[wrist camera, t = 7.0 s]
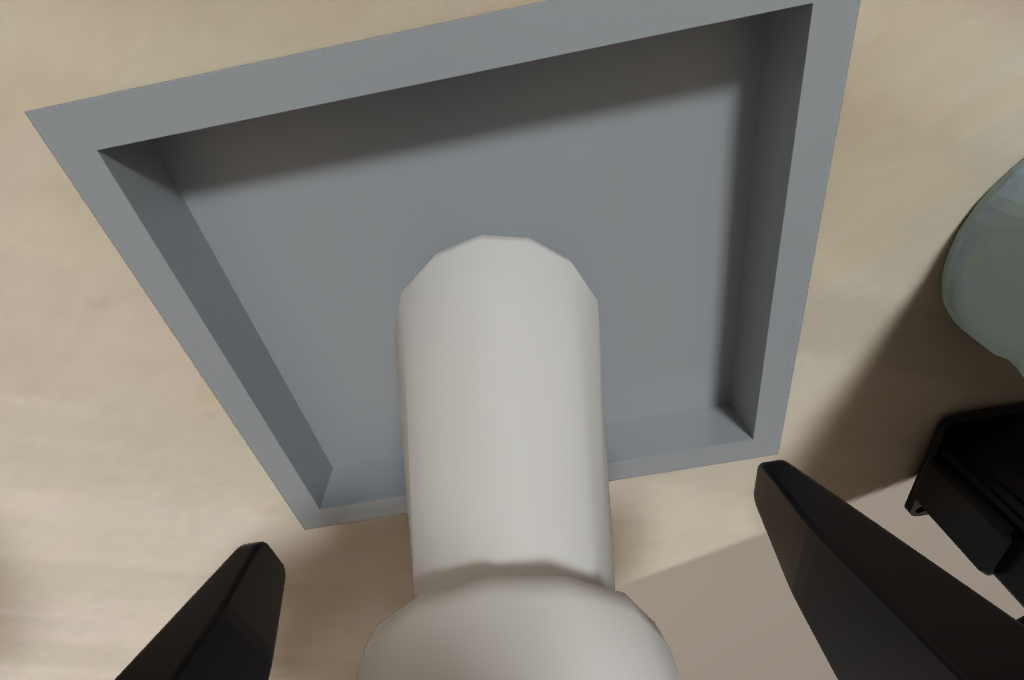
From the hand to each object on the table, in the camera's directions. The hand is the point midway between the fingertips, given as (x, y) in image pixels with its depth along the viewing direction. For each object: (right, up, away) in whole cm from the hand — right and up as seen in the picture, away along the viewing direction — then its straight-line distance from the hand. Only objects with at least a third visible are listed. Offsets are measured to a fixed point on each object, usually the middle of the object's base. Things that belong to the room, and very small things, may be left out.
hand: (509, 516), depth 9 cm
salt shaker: (0, +5, +7) cm, 9 cm away
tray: (0, +5, +8) cm, 10 cm away
